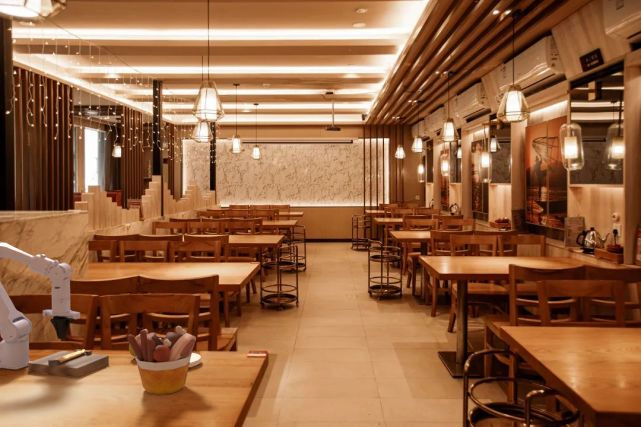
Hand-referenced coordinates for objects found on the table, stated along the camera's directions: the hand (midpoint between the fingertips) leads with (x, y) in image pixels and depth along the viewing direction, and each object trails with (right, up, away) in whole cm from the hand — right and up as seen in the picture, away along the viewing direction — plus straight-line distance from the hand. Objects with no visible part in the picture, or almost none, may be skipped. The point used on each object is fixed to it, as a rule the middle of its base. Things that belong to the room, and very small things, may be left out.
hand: (61, 338), depth 191 cm
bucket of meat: (+42, -10, -24) cm, 49 cm away
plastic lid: (+41, -10, 0) cm, 42 cm away
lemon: (+23, -9, +8) cm, 26 cm away
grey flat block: (+4, -10, -3) cm, 11 cm away
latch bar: (+4, -6, -2) cm, 8 cm away
